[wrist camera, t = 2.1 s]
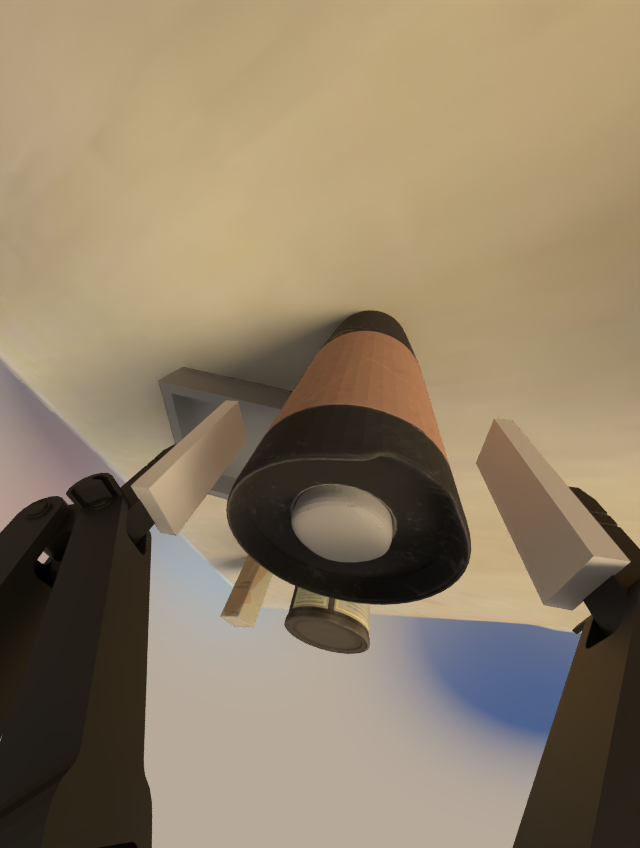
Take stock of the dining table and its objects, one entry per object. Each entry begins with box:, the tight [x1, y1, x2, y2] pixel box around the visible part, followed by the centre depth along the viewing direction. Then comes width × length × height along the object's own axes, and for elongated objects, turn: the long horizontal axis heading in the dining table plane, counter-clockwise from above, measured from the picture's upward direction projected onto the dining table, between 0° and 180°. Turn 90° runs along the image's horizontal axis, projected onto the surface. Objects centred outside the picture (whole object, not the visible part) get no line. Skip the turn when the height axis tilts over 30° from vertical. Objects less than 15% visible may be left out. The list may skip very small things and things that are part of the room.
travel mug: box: [226, 311, 471, 605], centre depth 16 cm, size 8×8×20 cm
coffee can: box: [285, 586, 370, 654], centre depth 35 cm, size 10×10×14 cm
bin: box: [159, 367, 292, 500], centre depth 32 cm, size 17×17×4 cm
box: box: [221, 556, 273, 628], centre depth 48 cm, size 5×4×11 cm
